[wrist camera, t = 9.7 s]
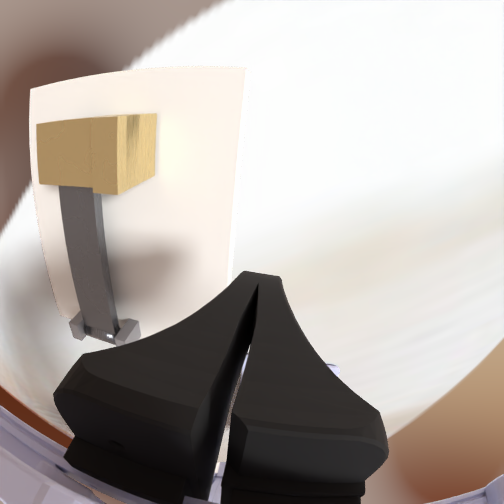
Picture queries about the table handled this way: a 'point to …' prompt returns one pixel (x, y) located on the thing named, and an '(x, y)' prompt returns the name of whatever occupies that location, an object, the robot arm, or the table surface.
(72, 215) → the dark grey flat bar
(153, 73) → the board
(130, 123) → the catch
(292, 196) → the table surface
